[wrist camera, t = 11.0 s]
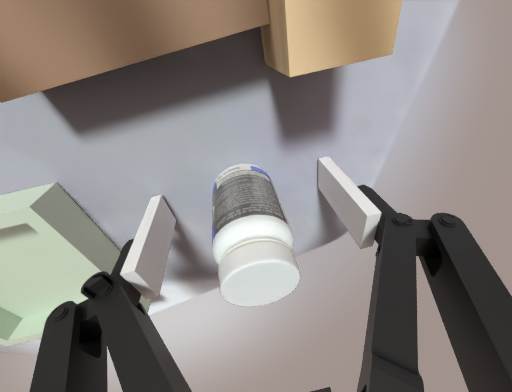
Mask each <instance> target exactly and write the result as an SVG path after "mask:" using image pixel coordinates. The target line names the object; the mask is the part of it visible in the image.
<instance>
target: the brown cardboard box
mask: <svg viewBox="0 0 512 392" xmlns="http://www.w3.org/2000/svg"><path fill="white" fill-rule="evenodd" d="M266 24H270V19H269V12H268V5H267V0H0V102H1V103H2V102H6V101H9V100H12V99H16V98H19V97H23V96H26V95H29V94H33V93H36V92H39V91H43V90H46V89H50V88H53V87H56V86H60V85H63V84H67V83H70V82H73V81H77V80H80V79H83V78H87V77H90V76H94V75H97V74H100V73H104V72H107V71H111V70H114V69H117V68H121V67H124V66H127V65H131V64H134V63H138V62H141V61H144V60H148V59H151V58H155V57H158V56H161V55H165V54H168V53H171V52H175V51H178V50H182V49H185V48H188V47H192V46H195V45H199V44H202V43H205V42H209V41H212V40H215V39H219V38H222V37H226V36H229V35H232V34H236V33H239V32H243V31H246V30H249V29H253V28H256V27H260V26H263V25H266Z"/></svg>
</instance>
